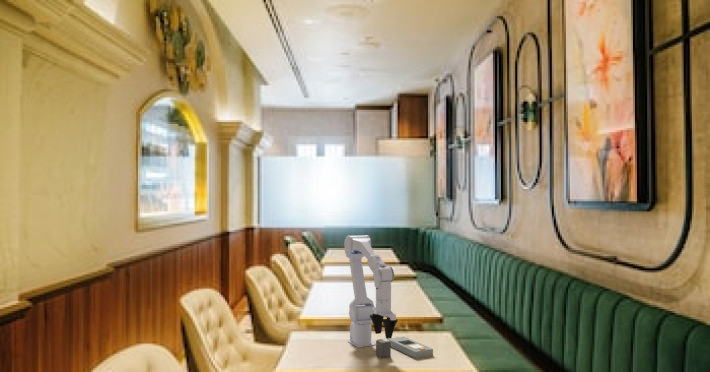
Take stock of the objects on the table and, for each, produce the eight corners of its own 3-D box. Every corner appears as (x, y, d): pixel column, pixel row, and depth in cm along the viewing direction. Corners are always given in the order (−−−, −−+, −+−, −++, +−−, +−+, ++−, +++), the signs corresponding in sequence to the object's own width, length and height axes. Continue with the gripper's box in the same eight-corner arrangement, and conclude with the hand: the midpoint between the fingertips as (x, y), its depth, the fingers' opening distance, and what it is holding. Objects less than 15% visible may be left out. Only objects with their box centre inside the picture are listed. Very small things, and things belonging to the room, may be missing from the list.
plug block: (375, 355, 199) (375, 339, 199) (385, 354, 201) (385, 338, 201) (381, 358, 196) (381, 342, 196) (390, 357, 197) (390, 340, 198)
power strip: (387, 345, 213) (387, 337, 213) (403, 342, 217) (403, 335, 217) (415, 358, 195) (415, 350, 196) (433, 355, 199) (433, 347, 199)
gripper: (364, 296, 203) (364, 332, 203) (384, 303, 190) (384, 341, 190) (380, 295, 207) (380, 330, 206) (400, 301, 194) (400, 339, 193)
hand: (383, 335), depth 198 cm, fingers open, 7 cm apart
